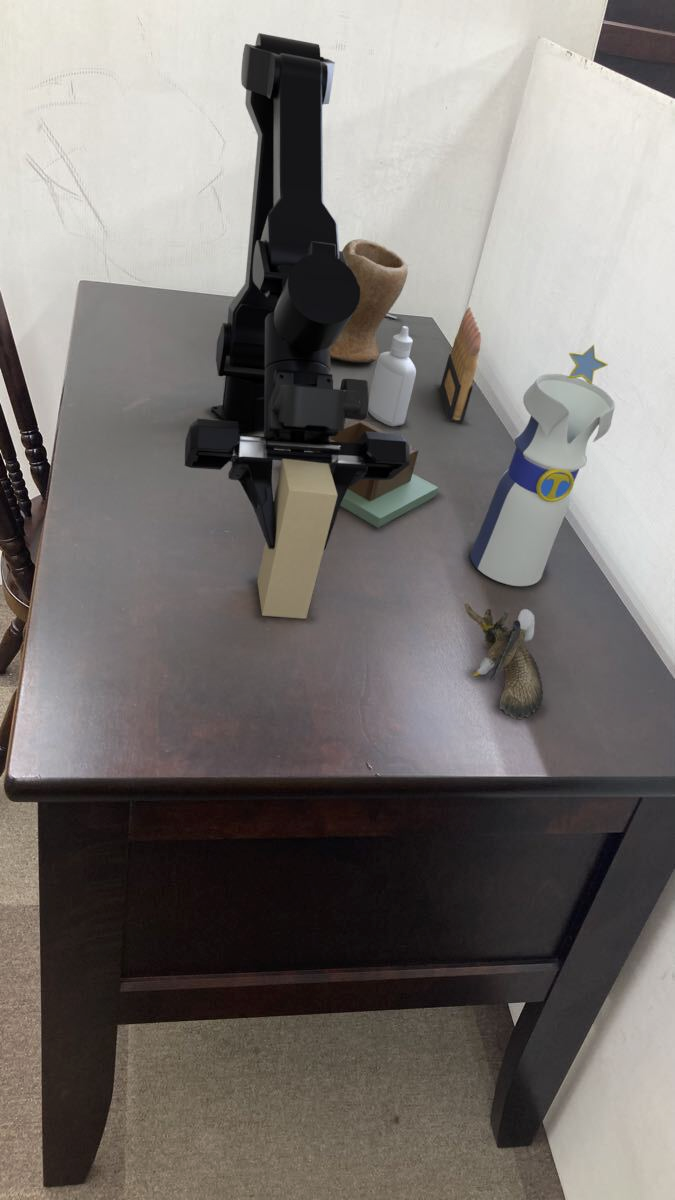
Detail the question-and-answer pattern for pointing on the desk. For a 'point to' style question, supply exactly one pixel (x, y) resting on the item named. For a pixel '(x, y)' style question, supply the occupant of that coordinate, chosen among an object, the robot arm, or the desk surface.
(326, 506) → the tan rectangular block
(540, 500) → the white superhero chess piece
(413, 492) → the seat base
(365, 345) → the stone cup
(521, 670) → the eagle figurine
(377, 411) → the eye dropper bottle
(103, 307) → the desk surface
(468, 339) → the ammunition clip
